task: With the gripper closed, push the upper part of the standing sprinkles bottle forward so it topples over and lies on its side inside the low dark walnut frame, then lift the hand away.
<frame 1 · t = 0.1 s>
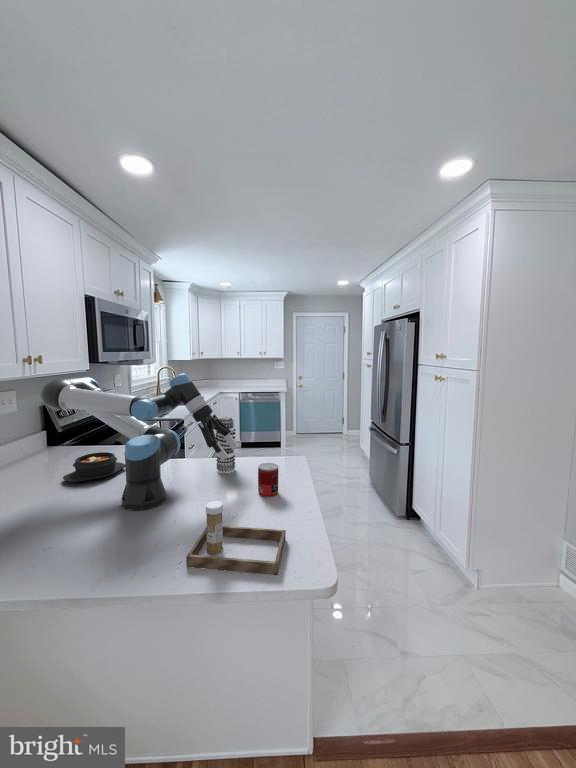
hand: (230, 453, 130), 15 cm above the countertop, tool tilted 35°, fingers open, 13 cm apart
casserole: (96, 475, 146), on the countertop
decorative candle: (226, 470, 154), on the countertop
frame: (239, 552, 91), on the countertop
canned food: (268, 493, 129), on the countertop
sprinkles bottle: (214, 551, 91), resting in frame
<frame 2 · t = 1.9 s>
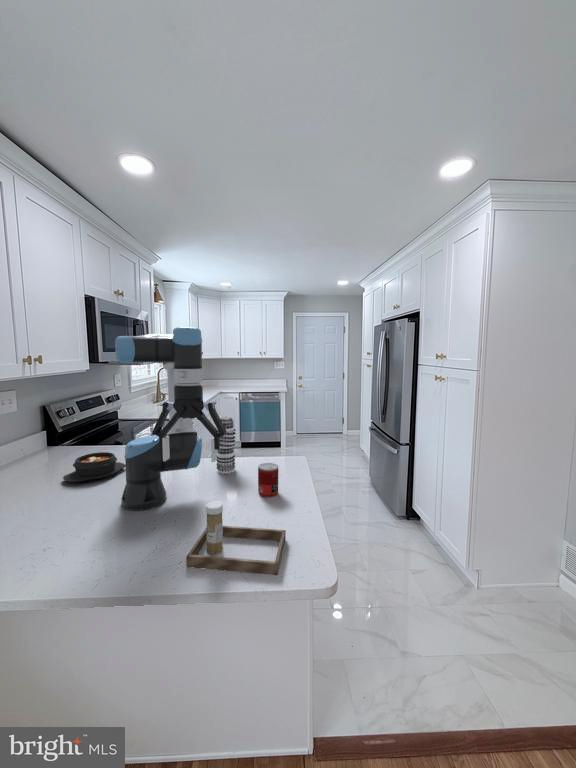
hand: (190, 460, 92), 25 cm above the countertop, tool pointing down, fingers open, 13 cm apart
nothing on the countertop moved.
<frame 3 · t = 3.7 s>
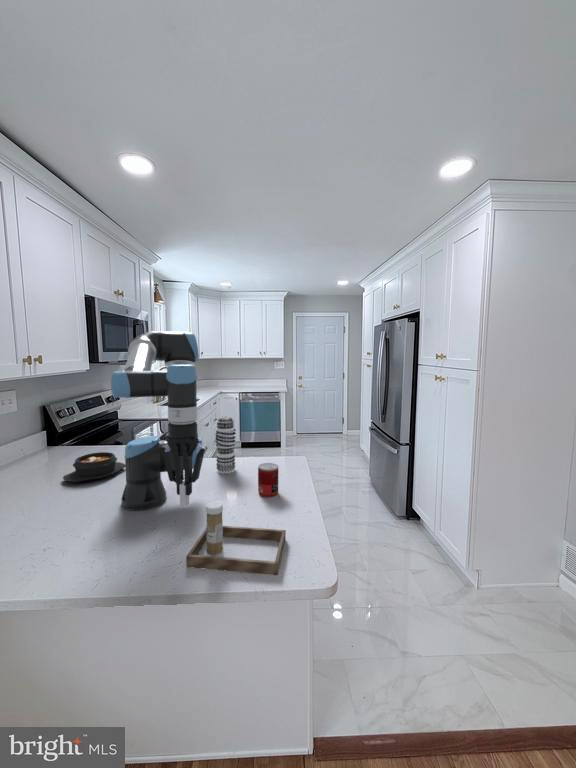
hand: (184, 505, 91), 13 cm above the countertop, tool pointing down, fingers closed
nothing on the countertop moved.
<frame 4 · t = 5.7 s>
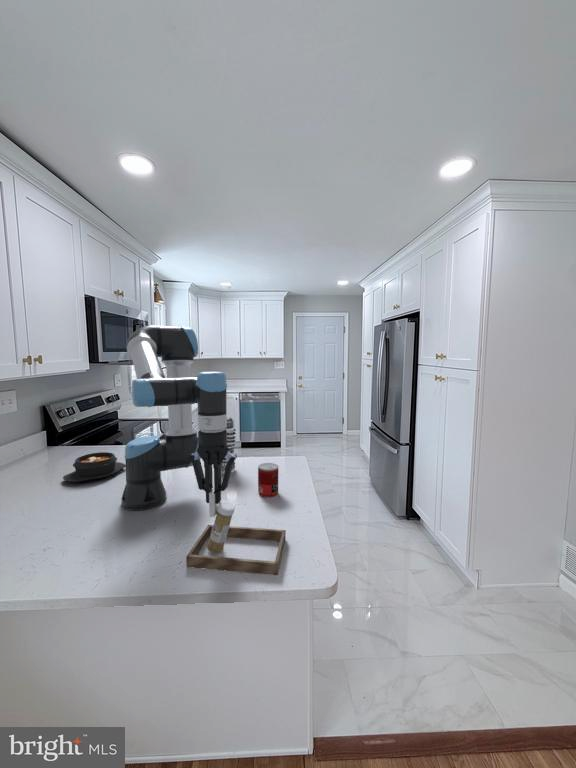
hand: (213, 514, 90), 11 cm above the countertop, tool pointing down, fingers closed
sprinkles bottle: (214, 549, 91), resting in frame, touching gripper
everything else where it was.
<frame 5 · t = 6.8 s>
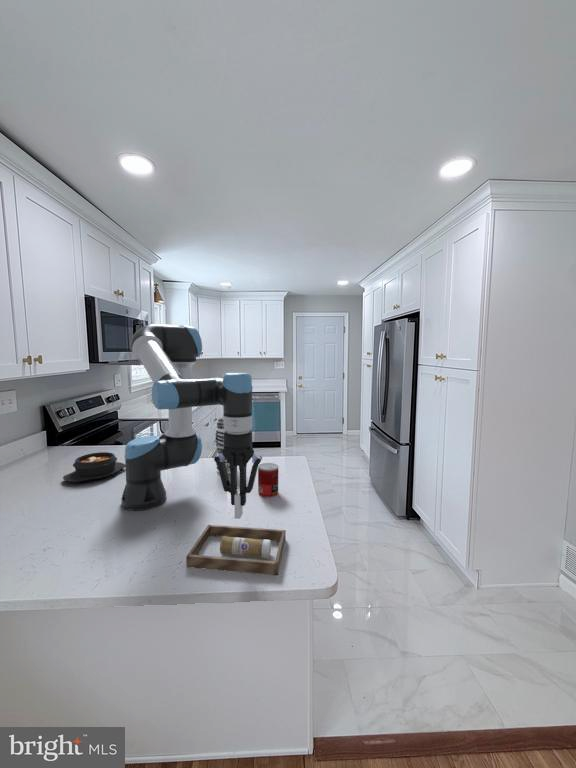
hand: (238, 516, 90), 11 cm above the countertop, tool pointing down, fingers closed
sprinkles bottle: (221, 544, 90), point 2 cm above the countertop
everything else where it was.
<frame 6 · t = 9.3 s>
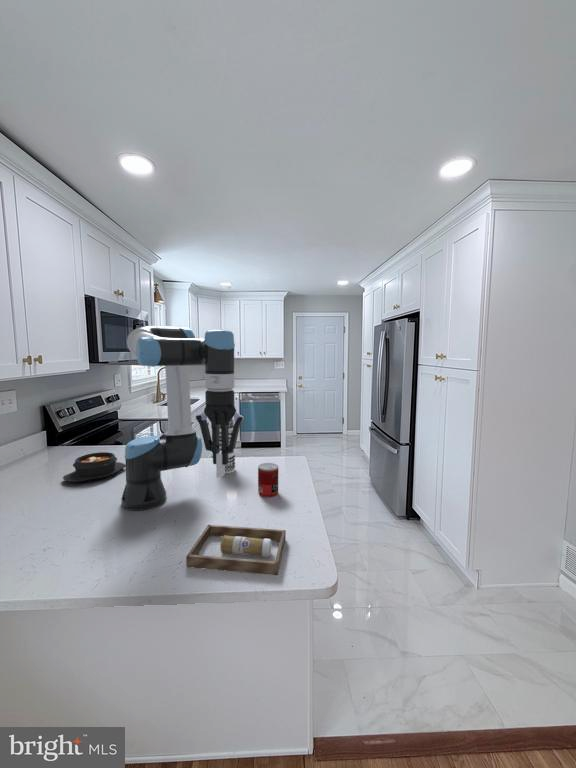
hand: (220, 475, 89), 22 cm above the countertop, tool pointing down, fingers closed
nothing on the countertop moved.
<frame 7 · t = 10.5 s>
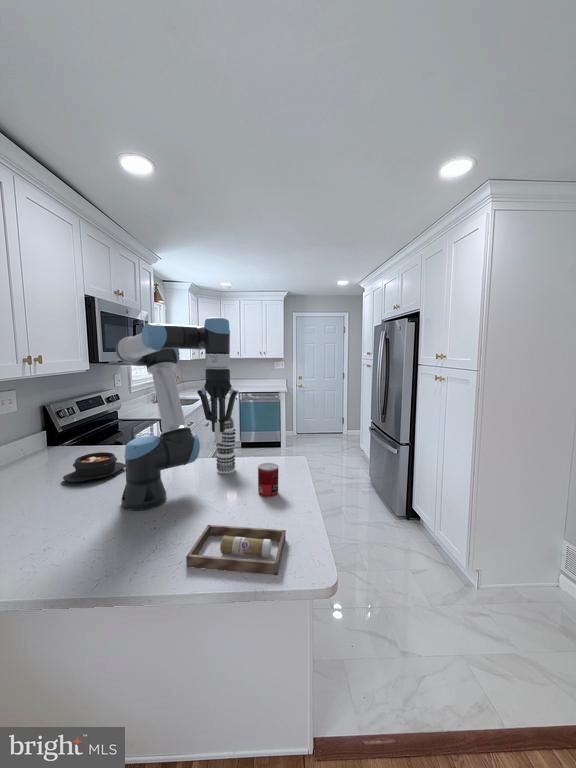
hand: (218, 441, 105), 26 cm above the countertop, tool pointing down, fingers closed
nothing on the countertop moved.
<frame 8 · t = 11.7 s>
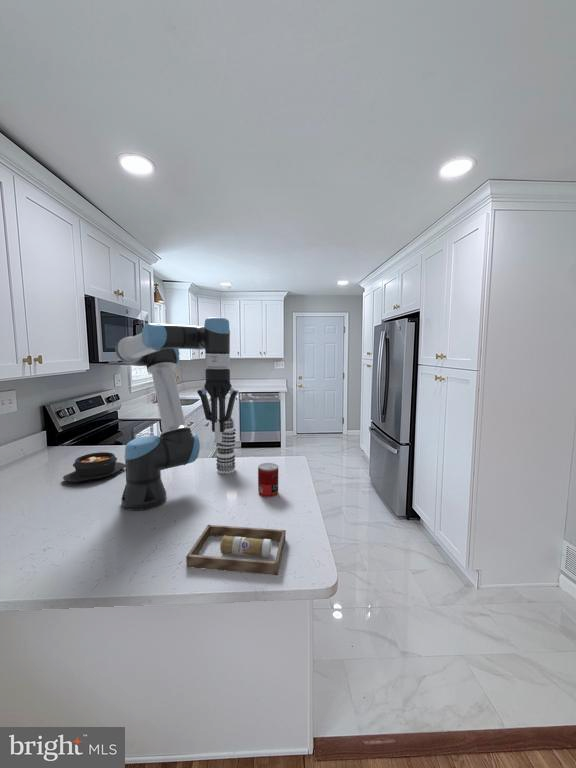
hand: (218, 441, 105), 26 cm above the countertop, tool pointing down, fingers closed
nothing on the countertop moved.
at the end: sprinkles bottle tilted 90°; sprinkles bottle inside the target area (4.9 cm from its centre), point 2.2 cm above the countertop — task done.
